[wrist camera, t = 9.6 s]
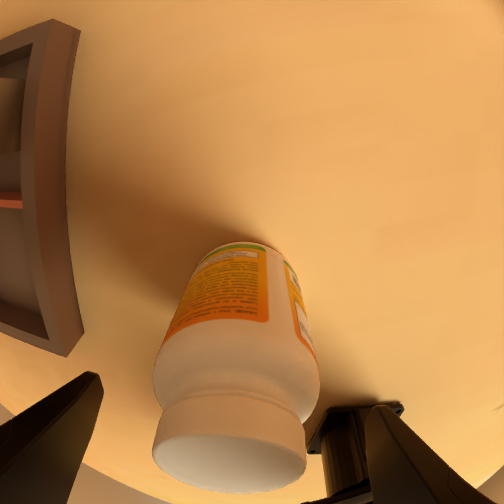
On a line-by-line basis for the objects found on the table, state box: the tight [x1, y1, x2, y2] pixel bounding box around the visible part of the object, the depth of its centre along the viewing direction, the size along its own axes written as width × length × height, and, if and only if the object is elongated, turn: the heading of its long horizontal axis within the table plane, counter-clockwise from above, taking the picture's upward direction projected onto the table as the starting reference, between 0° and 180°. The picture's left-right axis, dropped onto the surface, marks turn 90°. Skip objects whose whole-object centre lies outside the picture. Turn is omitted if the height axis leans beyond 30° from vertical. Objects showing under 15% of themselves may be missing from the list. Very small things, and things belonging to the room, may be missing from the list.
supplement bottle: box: [152, 242, 320, 494], centre depth 10 cm, size 5×5×10 cm
